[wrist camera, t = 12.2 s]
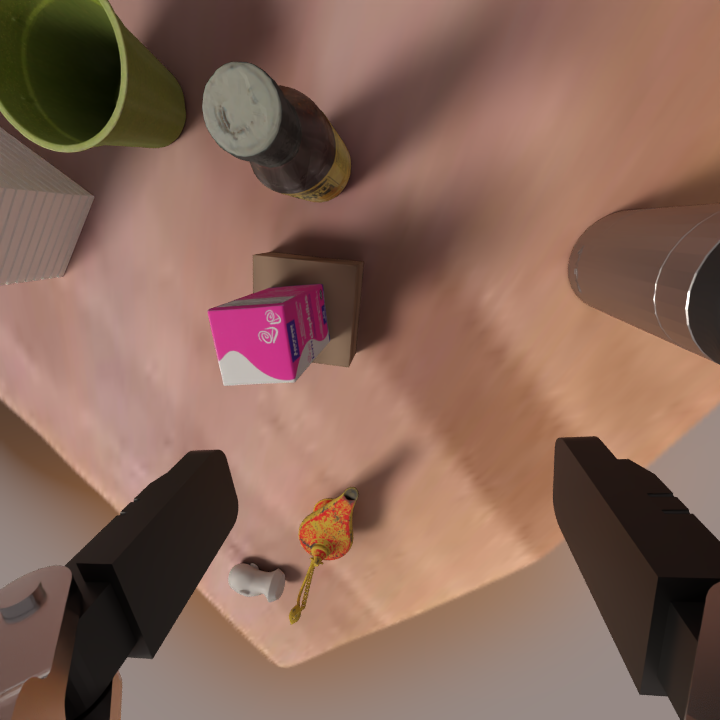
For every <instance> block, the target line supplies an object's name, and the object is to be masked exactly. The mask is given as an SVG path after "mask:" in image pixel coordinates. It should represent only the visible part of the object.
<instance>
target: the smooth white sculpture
mask: <svg viewBox="0 0 720 720" xmlns="http://www.w3.org/2000/svg"><path fill="white" fill-rule="evenodd" d="M228 582H229V585H230V587H231V588H232V589H233V590H234V591H236V592H237V593H239V594H241V595H244V596H247V597H251V596H257V595H261V594H264V595H265V596H266V598H267V600H268V602H272V601H275V600H277V599H279V598H280V597H281V595H282V593H283V590H284V586H285V574H284V573H283V572H282V571H281V570H280V569H279V568H278V569H277V570H275V571H273V572H264V571H261V570H259V567H258V566H257V565H256V564H254V563H251V564H250V565H248V564H244V563H241V564H237V565H235V566H234V567H233V568H232V569H231V571H230V573H229V577H228Z"/></svg>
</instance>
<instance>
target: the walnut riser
mask: <svg viewBox="0 0 720 720" xmlns="http://www.w3.org/2000/svg"><path fill="white" fill-rule="evenodd" d="M363 266H364V262H362V261H352V260H343V259H333V258H323V257H314V256H304V255H295V254H285V253H275V252H268V253H262V254H256V255H253V293H256V292H259V291H262V290H264V289H267V288H273V287H284V286H297V285H310V284H323V288H324V300H325V308H326V316H327V324H328V330H329V335H330V342H329V343H328V344H327V345H326V347H325V348H324V349H323V350H322V351H321V352H320V353H319V355H318V356H317V357H316V358H315V359H314V360H313V362H312V363H319V364H327V365H334V366H342V367H349V366H350V364H351V362H352V360H353V358H354V356H355V354H356V345H357V334H358V322H359V311H360V300H361V289H362V277H363Z"/></svg>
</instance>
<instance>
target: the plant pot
mask: <svg viewBox="0 0 720 720" xmlns="http://www.w3.org/2000/svg"><path fill="white" fill-rule="evenodd" d="M0 111H1V113H2V114H3V115H4V117H5V118H6V119H7V120H8V121H9V122H10V123H11V124H12V125H13V126H14V128H15V129H17V130H18V131H19V132H20V133H21V134H22V135H23V136H25V137H26V138H28V139H29V140H31V141H32V142H34V143H36V144H37V145H39V146H41V147H44V148H46V149H49V150H52V151H57V152H66V153H71V152H80V151H84V150H87V149H90V148H92V147H98V146H103V145H112V146H130V147H145V148H160V147H165V146H168V145H169V144H171V143H172V142H173V141H175V140H176V139H177V138H178V137H179V135H180V133H181V132H182V129H183V127H184V124H185V120H186V111H185V103H184V95H183V92H182V89H181V87H180V85H179V83H178V82H177V80H176V79H175V77H174V76H173V75H172V74H171V73H170V72H169V71H168V70H167V69H166V68H165V67H164V66H163V65H162V64H161V63H160V62H159V61H158V60H157V59H156V58H155V57H154V56H153V55H152V53H151V52H150V51H149V50H148V49H147V48H146V47H145V46H144V45H143V44H142V43H141V42H140V41H139V40H138V39H137V38H136V37H135V36H134V35H133V34H132V33H131V32H130V31H129V30H128V29H127V28H126V27H125V26H124V24H123V23H122V21H121V20H120V19H119V17H118V16H117V15H116V14H115V12H114V10H113V8H112V6H111V5H110V3H109V1H108V0H0Z"/></svg>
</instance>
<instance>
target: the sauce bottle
mask: <svg viewBox="0 0 720 720" xmlns="http://www.w3.org/2000/svg"><path fill="white" fill-rule="evenodd" d="M202 109H203V115H204V121H205V124H206V127H207V129H208V131H209V132H210V134H211V136H212V137H213V139H214V140H215V141H216V143H217V144H218V145H219V146H220V147H221V148H222V149H223V150H225V151H227V152H228V153H230V154H231V155H233V156H234V157H236V158H238V159H241V160H245V161H249V162H250V164H251V167H252V169H253V171H254V174H255V175H256V177H257V178H258V179H259V180H260V182H261V183H262V184H264V185H265V186H266V187H268V188H269V189H271V190H273V191H276V192H279V193H281V194H285V195H289V196H292V197H296V198H299V199H304V200H308V201H312V202H325V201H329V200H331V199H333V198H335V197H337V196H338V195H339V194H340V193H341V192H342V190H343V189H344V188H345V186H346V184H347V182H348V180H349V177H350V174H351V159H350V155H349V152H348V150H347V148H346V146H345V144H344V142H343V141H342V139H341V138H340V136H339V135H338V133H337V132H336V131H335V129H334V128H333V126H332V125H331V123H330V122H329V120H328V119H327V117H326V116H325V114H324V113H323V112H322V111H321V110H320V109H319V108H318V106H317V105H316V104H315V103H314V102H313V101H312V100H311V99H310V98H308V97H307V96H305V95H304V94H303V93H301V92H299V91H298V90H295V89H292V88H289V87H285V86H281V85H280V86H278V85H277V83H276V82H275V81H274V80H273V79H272V78H271V77H270V76H269V75H268V74H267V73H266V72H265V71H263V70H262V69H261V68H259V67H257V66H256V65H253V64H251V63H247V62H230V63H227V64H224V65H223V66H221V67H220V68H218V69H217V70H216V71H215V73H214V74H213V75H212V76H211V78H210V79H209V81H208V83H207V84H206V86H205V90H204V94H203V105H202Z"/></svg>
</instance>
